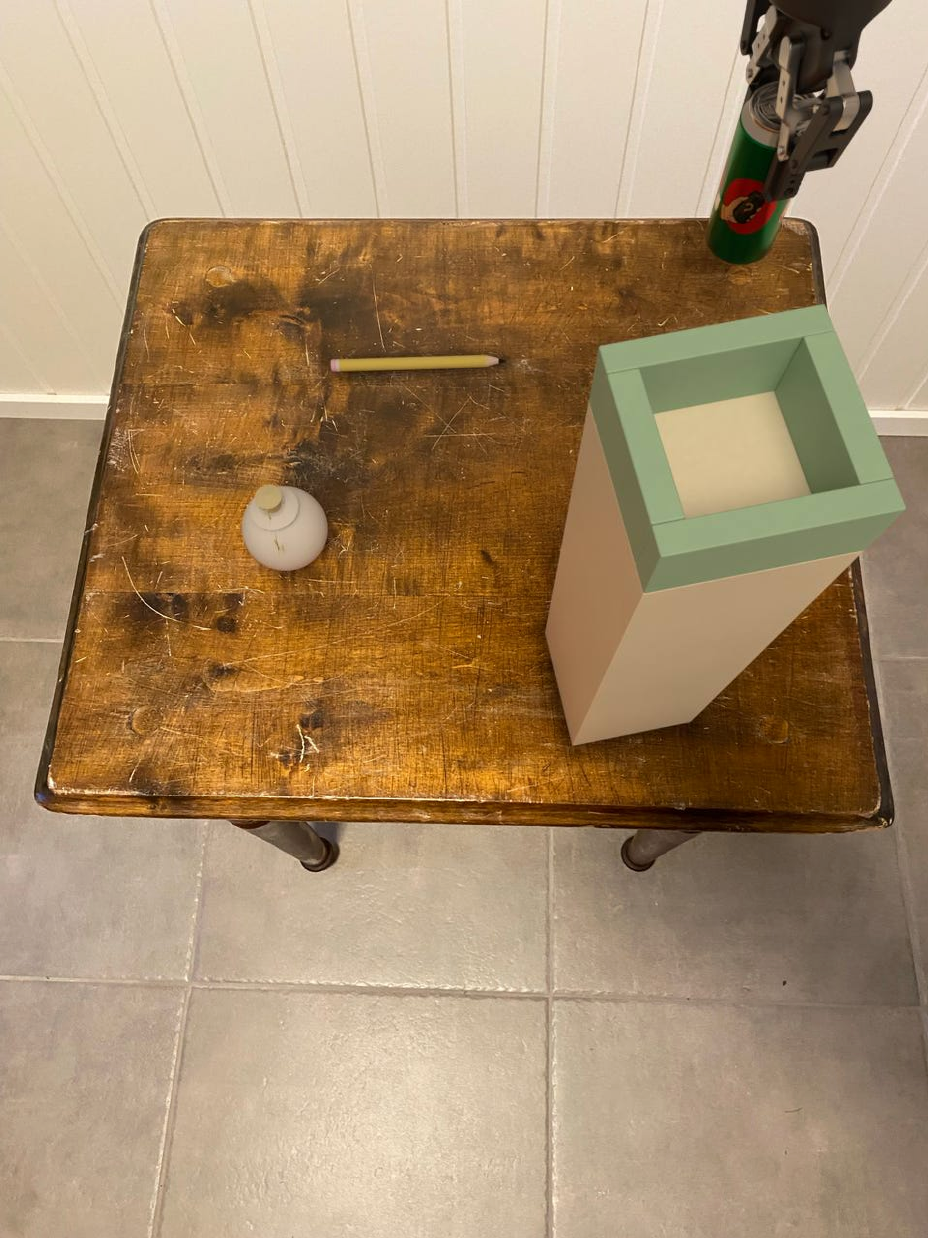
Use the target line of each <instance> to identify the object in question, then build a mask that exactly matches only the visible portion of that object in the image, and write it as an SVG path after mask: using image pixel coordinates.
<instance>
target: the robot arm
mask: <svg viewBox="0 0 928 1238" xmlns="http://www.w3.org/2000/svg"><path fill="white" fill-rule="evenodd" d="M892 2H893V0H746V5H745V11H744V17H743V22H742V27H741V28H742V29H741V34H740V40H739V51H740V54H741V55H742V56H743V57H744V56H745V57H746V56H748V57H749V61H748V63H747V65H746V67H745V80H746V83H747V84H748V85H747V89H746V93H745V95H744V99H743V102H742V106H741V110H742V108H743V106H744V105H745V103H746V102H747V101H748V100H750V99H751V97H752V95H753V93H754V92H755V91H756V90H757V89H758V88H759V87H761V86H762V85H764V84H766V83H769V82H772V81H780V82H779V89H778V96H777V102H776V109H775V113H776V115H777V116H778V117H779V118H780V119H781V127H780V133H779V140H778V146H777V150H776V151H775V153H774V156H773V159H772V162H771V165H770V168H769V170H768V173H767V176H766V179H765V182H764V185H763V188H762V191H761V193H762V195H763V198H764V200H765V202H768V203H769V202H775V201H780V200H785V199H789V198H791V199H794V198H795V197H796V196H797V195H798V193H799V191H800V188H801V186H802V183H803V181H804V179H805V176H806V173H810V172H816V171H821V170H827V169H833V168H834V167H835V165H836V164H837V163H838V161H839V159H840V158H841V156H842V155H843V154H844V152H845V151H846V149H847V147H848V146H849V145H850V143H851V141H852V140H853V138H854V137H855V135H856V134H857V132H858V131H859V130H860V128H861V127H862V125H863V124H864V122H865V120H866V119H867V117H868V116H869V115H870V113H871V111H872V109H873V105H874V95H873V92H872V91H871V90H870V89H865V90H859V91H856V87H855V83H854V80H853V76H852V72H851V71H852V70H853V68H854V66H855V65H856V61H857V59H858V52H859V45H860V41H861V37H862V32H863V31H864V29H865V28H866V27H867V26H868V25H869V24H870V23H871V22H872V21H873V20H874V19H875V18H876V17H877V16H879V14H880V13H882V12H883V11H884V10H885V9H886V8H888V7H889V5H890V4H891V3H892ZM762 16H764V17H763V18H764V23H763V24H762V27H761V28H760V30H759V31H758V28H759V27H758V26H759V21H760V19H761V17H762ZM820 92H821V93H820ZM810 93H813V94H816V93H820V94H819V95H818V96H816V97H815V98H810V99H805V100H799V101H794V97H795V94H796V95H804V94H810ZM741 110H740V111H741ZM806 120H811V121H810V123H809V125H808V127H807V128H806V130H805V132H804V134H803V135H802V136H799V137H795V133H796V127H797V125H798V124H799V123H800V122H802V121H806Z"/></svg>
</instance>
